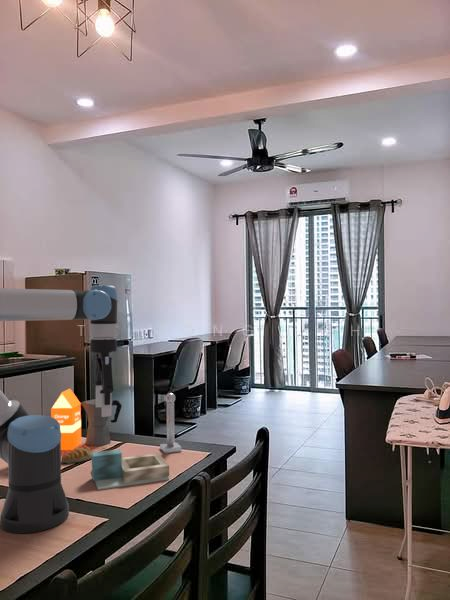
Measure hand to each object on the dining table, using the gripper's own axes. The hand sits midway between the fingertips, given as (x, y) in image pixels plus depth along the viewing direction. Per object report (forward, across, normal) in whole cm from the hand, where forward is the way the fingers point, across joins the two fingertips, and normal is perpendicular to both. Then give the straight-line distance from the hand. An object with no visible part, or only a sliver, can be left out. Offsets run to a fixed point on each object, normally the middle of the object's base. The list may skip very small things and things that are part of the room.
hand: (103, 411), depth 141 cm
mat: (+20, 0, -8) cm, 21 cm away
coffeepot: (+20, +39, -4) cm, 44 cm away
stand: (+19, +20, -26) cm, 38 cm away
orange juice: (+20, +39, +8) cm, 44 cm away
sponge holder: (+19, 0, -8) cm, 21 cm away
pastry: (+20, +22, +5) cm, 30 cm away
